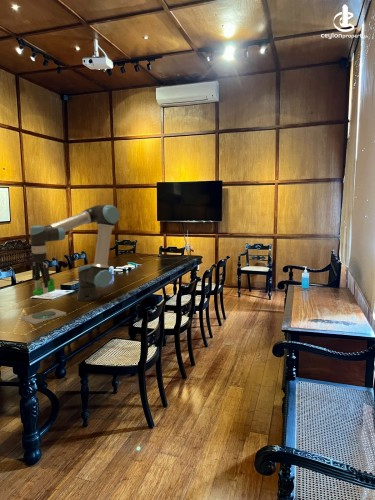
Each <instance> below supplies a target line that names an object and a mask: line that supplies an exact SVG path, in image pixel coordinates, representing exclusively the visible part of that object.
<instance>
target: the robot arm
mask: <svg viewBox="0 0 375 500" xmlns="http://www.w3.org/2000/svg"><path fill="white" fill-rule="evenodd" d="M119 219H120V212H119V210H118V209H117V207H116V206H114V205H110V204H104V205H103V204H98V205H93V206H91V207H89V208H86V209H84V210H82V211H81V212H80V213H77V214H75V215H72V216H70V217H66V218H63V219H61V220H58V221H55V222H52V223H50V224H47V225H45V226H44V225H31V226H30V229H29V231H30V233H29V236H30V244H31V248H30V249H31V253H32V254H31V258H32V261H33V262H31V271H32V272H31V273H32V274H31V279H32V280H34V285H35V290H37V289H40V288H43V295H45V293H46V294H49V293H48V281H50V278H51V277H50V268H49V265H50V264H49V263H46V260H47V258H48V257H47V244H46V242H57V241H58V242H59V241H64V240H65V239H66V232H68V231H71V230H73V229H75V228H78V227H81V226H83V225H85V224H87V225H90V224H93V223H96V225H97V227H98V230H97V237H96V238H97V239H96V246H95V254H94V262H93V263H92V264H88V265H82V266H81V265H80V266H78V268H77V275H78V276H77V277H78V291H77V294H76V300H78V301H80V302H90V301H91V302H92V301H95V300H99V299H100V298H101V296H100V293H99V289H98V288H105V287H107V286H108V285H110V284H111V281H112V278H113V276H112V275H113V274H112V273H111V271H110V266H109V264H108V263H109V255H110V249H111V248H110V247H111V239H112V231H113V229H114V228H115V225H116V223H117V222H118V221H119ZM40 276H41V278H42V279H41V278H40ZM41 280H42V282H41ZM41 283H42V287H41Z"/></svg>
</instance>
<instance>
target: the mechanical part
mask: <svg viewBox="0 0 375 500" xmlns="http://www.w3.org/2000/svg"><path fill="white" fill-rule="evenodd" d="M55 289H56V288H55V280H54V279H53V278H51V277H50V281H48V293H45V294H49V293H51V292H54V291H55ZM32 294H33V296H42V295H45V294H43V287H41V288H40V289H37V290H36V289H34V290H32Z"/></svg>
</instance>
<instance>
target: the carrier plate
mask: <svg viewBox="0 0 375 500" xmlns="http://www.w3.org/2000/svg"><path fill="white" fill-rule="evenodd" d="M65 315H67V312H65V311H62V310H59V309H55V308H49V309H46V310H42V311H39V312H35V313H31V314H28V315H26V316H22V317H20V319H21V320H22V321H25V322H27V323H30V324H33V325H37V324H39V323H42V322H43V321H44V322H46V320H47V321H50V320H52V319H55V318H60V317H62V316H65Z"/></svg>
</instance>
